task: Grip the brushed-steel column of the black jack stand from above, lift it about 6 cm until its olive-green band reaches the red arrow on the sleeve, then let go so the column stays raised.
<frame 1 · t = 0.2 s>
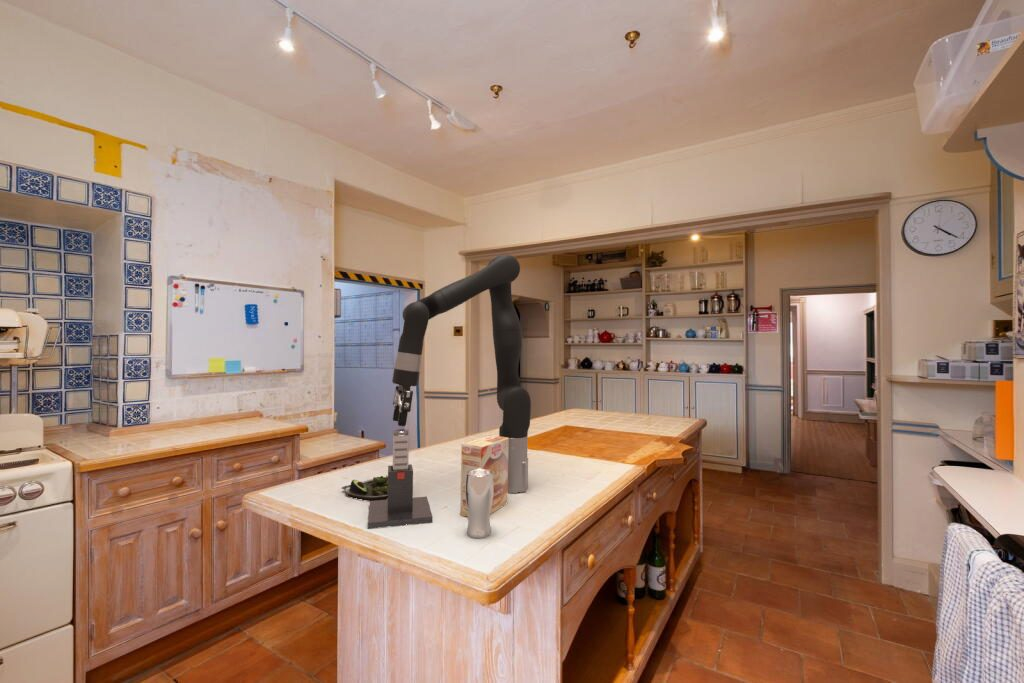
hand: (398, 423, 131), 23 cm above the countertop, tool pointing down, fingers open, 8 cm apart
jack stand: (399, 514, 121), on the countertop
beer glass: (478, 534, 110), on the countertop
coffeecake box: (484, 510, 126), on the countertop
column: (400, 469, 121), point 12 cm above the countertop, slide at 0.0 cm
salad plate: (374, 493, 139), on the countertop
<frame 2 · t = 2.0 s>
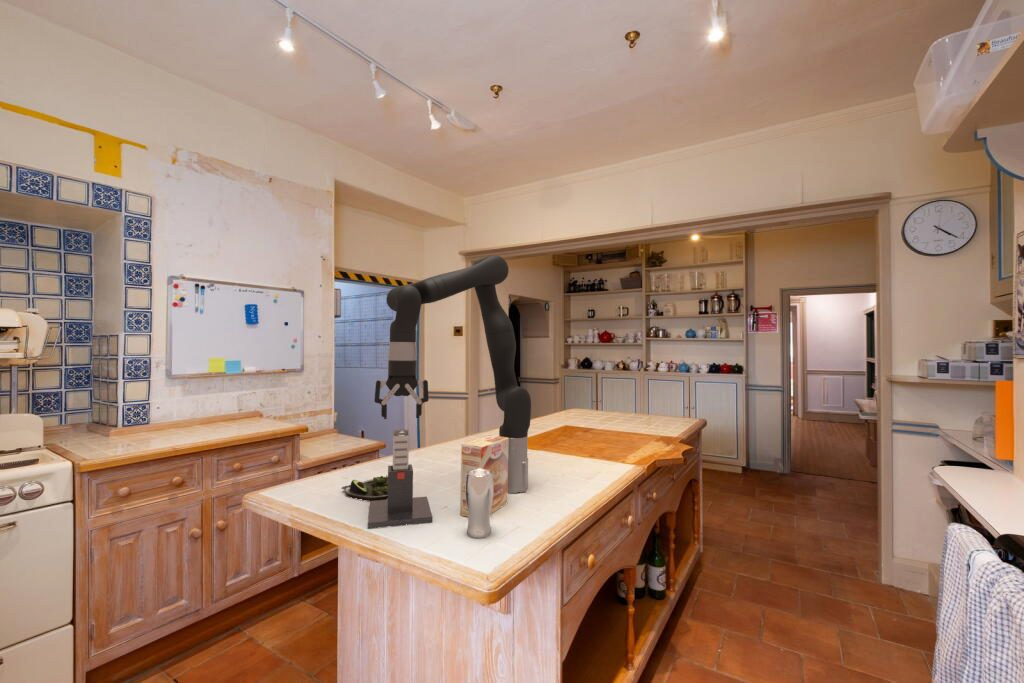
hand: (401, 418, 122), 26 cm above the countertop, tool pointing down, fingers open, 8 cm apart
nothing on the countertop moved.
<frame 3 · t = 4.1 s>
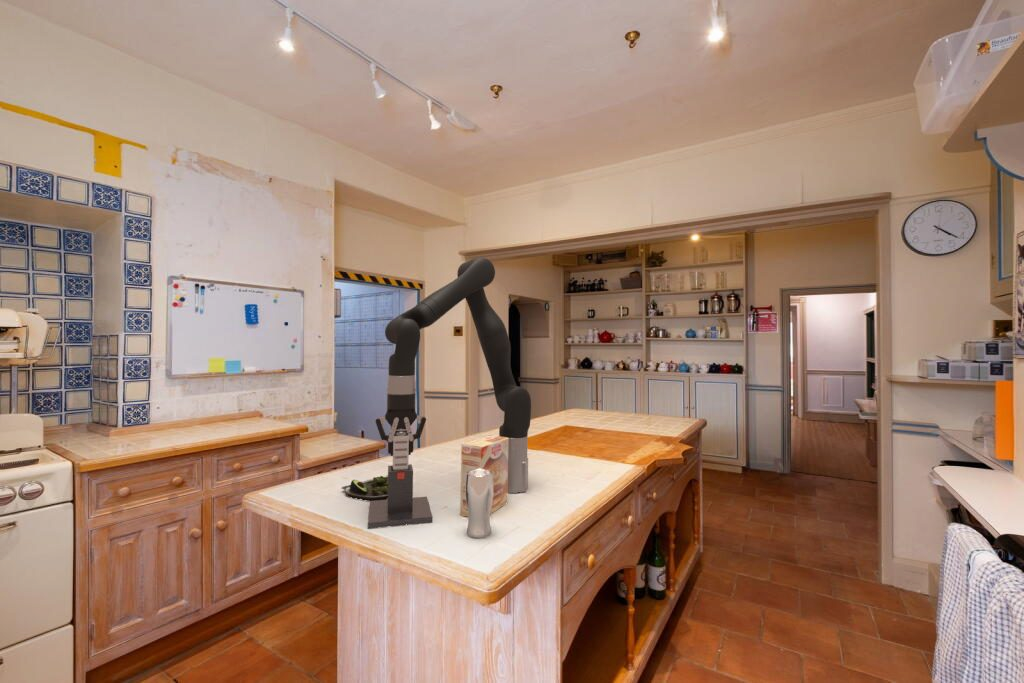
hand: (400, 454, 121), 16 cm above the countertop, tool pointing down, fingers closed on column, 4 cm apart
column: (400, 469, 121), point 12 cm above the countertop, slide at 0.0 cm, touching gripper
everything else where it was.
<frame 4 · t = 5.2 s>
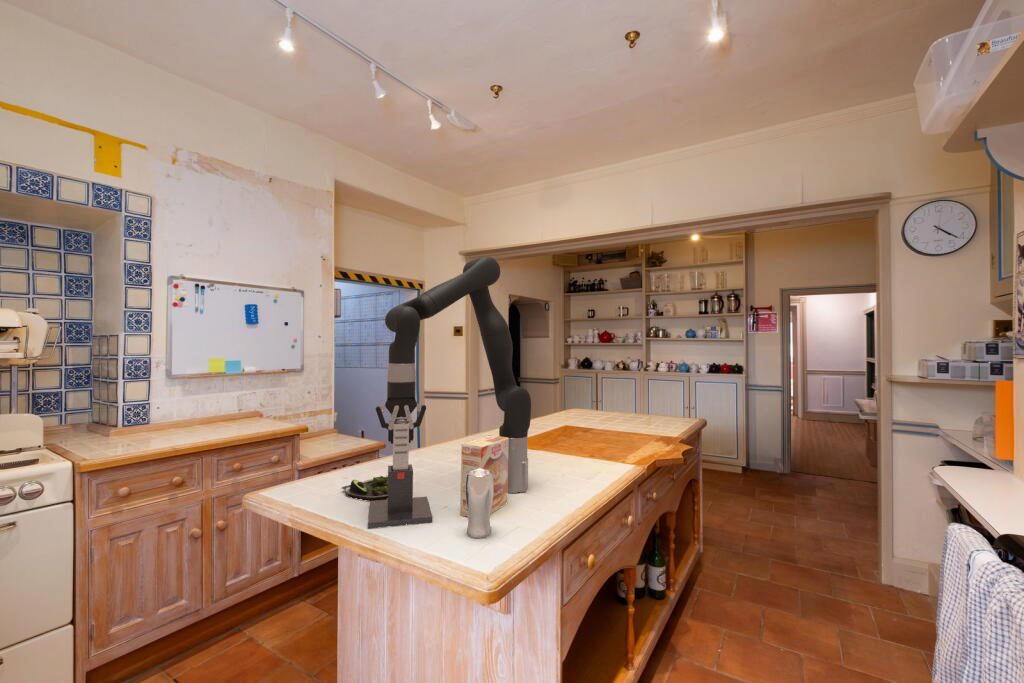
hand: (400, 442, 122), 19 cm above the countertop, tool pointing down, fingers closed on column, 4 cm apart
column: (400, 457, 121), point 15 cm above the countertop, slide at 3.2 cm, touching gripper
everything else where it was.
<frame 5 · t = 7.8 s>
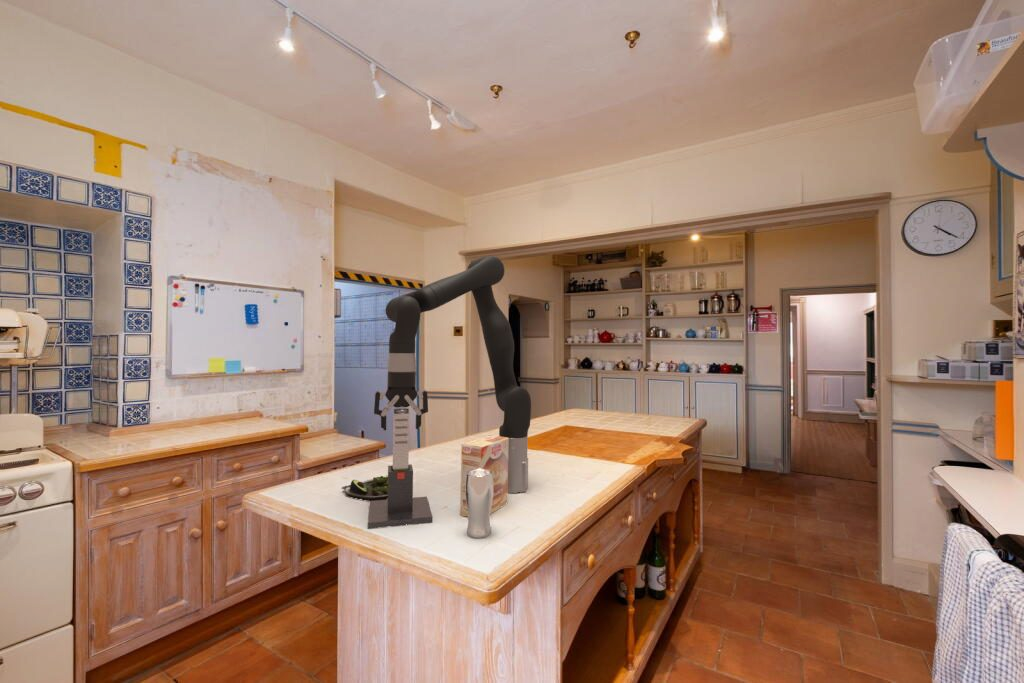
hand: (401, 429, 122), 23 cm above the countertop, tool pointing down, fingers open, 8 cm apart
column: (400, 447, 121), point 18 cm above the countertop, slide at 5.9 cm
everything else where it was.
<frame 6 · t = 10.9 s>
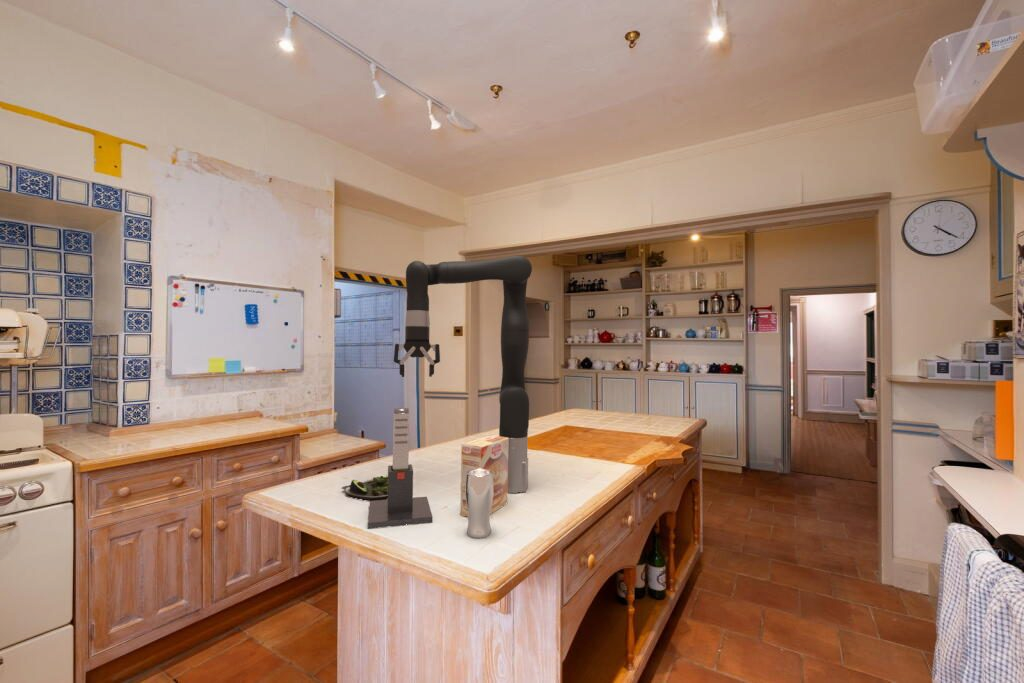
hand: (416, 376, 141), 36 cm above the countertop, tool pointing down, fingers open, 8 cm apart
nothing on the countertop moved.
at the end: column slide at 5.9 cm; the gripper is holding nothing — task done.
